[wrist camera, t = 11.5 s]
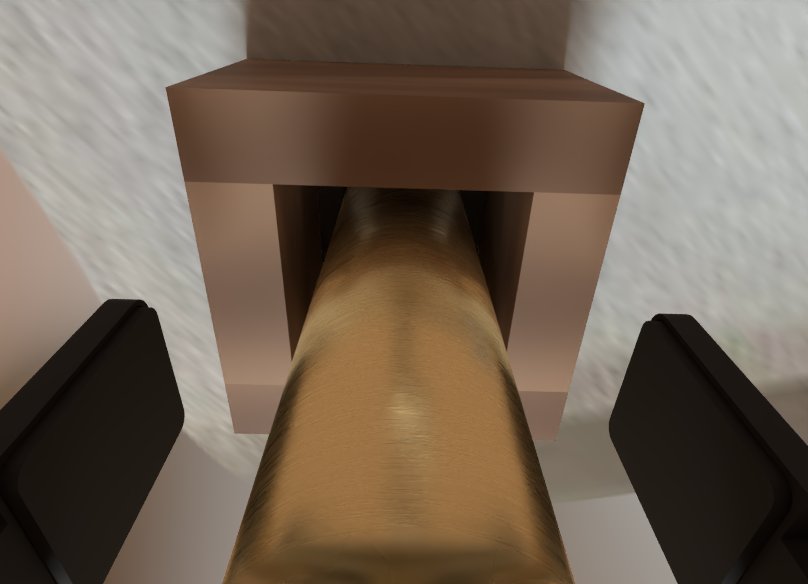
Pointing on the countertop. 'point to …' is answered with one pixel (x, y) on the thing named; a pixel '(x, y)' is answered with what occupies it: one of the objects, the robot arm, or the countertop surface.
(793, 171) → the countertop surface
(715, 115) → the countertop surface
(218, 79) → the walnut well block
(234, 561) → the brass peg
